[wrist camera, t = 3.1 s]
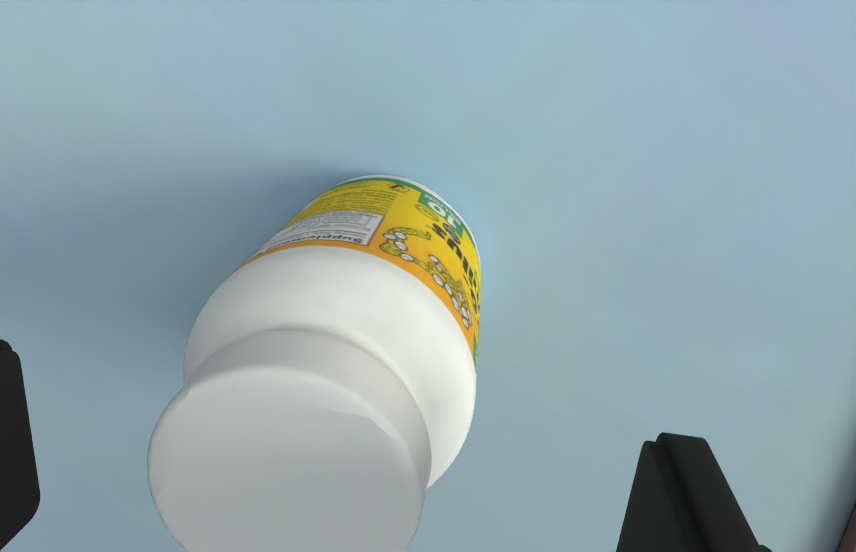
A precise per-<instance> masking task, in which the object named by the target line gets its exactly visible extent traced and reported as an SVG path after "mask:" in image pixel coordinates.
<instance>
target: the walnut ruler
mask: <svg viewBox="0 0 856 552" xmlns="http://www.w3.org/2000/svg"><path fill="white" fill-rule="evenodd" d="M838 552H856V507H855V509H854V512H853V514H852V517H851V519H850V522H849V524H848V527H847V529H846V532H845V534H844V537H843V539H842V542H841V544H840V547H839V549H838Z"/></svg>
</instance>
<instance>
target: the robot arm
mask: <svg viewBox="0 0 856 552" xmlns="http://www.w3.org/2000/svg"><path fill="white" fill-rule="evenodd" d="M39 502H40V489H39V482H38V476H37V469H36V462H35V456H34V449H33V442H32V435H31V429H30V422H29V415H28V409H27V402H26V395H25V389H24V382H23V375H22V369H21V362H20V358H19V356H18V355H17V353H16V352H14V351H12V348H11V346H10V345H9V344H8V342H6V341H4V340H2V339H0V550H1V549H2V548H3V547H4V546H5V545H6V544H7V543H8V542H9V541H10V540H11V539H12V538H13V537H14V536H15V535H16V534H17V533H18V532H19V531H20V530H21V529H22V528H23V527H24V526H25V525H26V524H27V523H28V522H29V521H30V520H31V519H32V518H33V516H34V515H35V513H36V511H37V509H38V506H39ZM616 552H772V551H771V550H770V549H769V548H767V547H766V546H764V545H759V544H758V542H757V540H756V538H755V536H754V534H753V532H752V530H751V528H750V526H749V524H748V522H747V520H746V518H745V516H744V514H743V512H742V510H741V508H740V507H739V505H738V503H737V501H736V499H735V497H734V495H733V493H732V491H731V489H730V487H729V485H728V483H727V481H726V479H725V477H724V475H723V473H722V471H721V469H720V467H719V465H718V463H717V461H716V459H715V457H714V455H713V453H712V451H711V449H710V447H709V445H708V443H707V442H706V440H705V439H703V438H699V437H692V436H685V435H678V434H671V433H664V432H662V433H661V434H659V436H658V438H657V440H656V442H653V441H645V442H644V444H643V446H642V449H641V453H640V457H639V461H638V465H637V469H636V473H635V477H634V481H633V485H632V489H631V493H630V497H629V501H628V505H627V510H626V514H625V518H624V522H623V526H622V530H621V534H620V538H619V542H618V546H617V550H616Z"/></svg>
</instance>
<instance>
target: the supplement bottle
mask: <svg viewBox="0 0 856 552" xmlns="http://www.w3.org/2000/svg"><path fill="white" fill-rule="evenodd" d="M480 289H481V265H480V259H479V253H478V249H477V246H476V243H475V240H474V237H473V235H472V233H471V231H470V229H469V228H468V226H467V224H466V223H465V221H464V220H463V219H462V217H461V216H460V215H459V214H458V213H457V212H456V211H455V210H454V209H453V208H452V207H451V206H450V205H449V204H448V203H447V202H446V201H445V200H443V199H442V198H441V197H440V196H439V195H438V194H436V193H435V192H433V191H432V190H430V189H429V188H427V187H425V186H424V185H422V184H419V183H417V182H415V181H413V180H410V179H407V178H403V177H398V176H392V175H367V176H361V177H356V178H352V179H349V180H346V181H343V182H341V183H339V184H337V185H335V186H333V187H331V188H329V189H327V190H326V191H324V192H323V193H322V194H320V195H319V196H318V197H316V198H315V199H313V200H312V201H311V202H310V203H309V204H308V205H307V206H305V207H304V208H303V209H302V210H301V211H300V212H299V213H298V214H297V215H296V216H295V217H294V218H293V219H292V220H291V221H290V222H289V223H287V224H286V225H285V226H284V227H283V228H282V229H281V230H280V231H279V232H277V233H276V234H275V235H274V236H273V237H272V238H271V239H270V240H269V241H267V242H266V243H265V244H264V245H263V246H262V247H261V248H260V249H258V250H257V251H256V252H255V253H254V254H253V255H252V256H251V257H250V258H249V259H247V260H246V261H245V262H244V263H243V264H242V265H241V266H240V267H239V268H238V269H236V270H235V271H234V272H233V273H232V274H231V275H230V276H229V277H228V278H227V279H226V280H225V281H224V282H223V283H222V284H221V285H220V286H219V287H218V288H217V289H216V290H215V292H214V293H213V294H212V295H211V297H210V298H209V299H208V301H207V302H206V304H205V305H204V306H203V308H202V310H201V311H200V313H199V315H198V317H197V318H196V320H195V323H194V325H193V328H192V330H191V333H190V336H189V339H188V342H187V347H186V352H185V359H184V386H183V387H182V388H181V390H180V391H179V392H178V393H177V394H176V396H175V397H174V398H173V399H172V400H171V402H170V403H169V404H168V405H167V407H166V408H165V409H164V411H163V412H162V414H161V416H160V418H159V420H158V422H157V424H156V426H155V428H154V430H153V433H152V435H151V439H150V443H149V448H148V456H147V472H148V482H149V487H150V491H151V496H152V498H153V501H154V504H155V506H156V508H157V511H158V513H159V515H160V517H161V519H162V521H163V522H164V524H165V526H166V527H167V528H168V530H169V531H170V532H171V534H172V535H173V537H174V538H175V539H176V540H177V542H178V543H179V544H180V545H181V546H182V547H183V548H184V549H185V550H186V551H187V552H405V551H406V550H407V548H408V547H409V545H410V543H411V541H412V539H413V537H414V535H415V533H416V531H417V527H418V524H419V520H420V517H421V512H422V508H423V503H424V498H425V493H426V489H427V488H428V487H429V486H431V485H432V484H433V483H434V482H435V481H436V480H437V479H438V478H439V477H440V476H441V475H442V474H443V473H444V472H445V471H446V470H447V468H448V467H449V466H450V464H451V463H452V462H453V461H454V459H455V458H456V456H457V454H458V453H459V451H460V449H461V447H462V445H463V443H464V441H465V439H466V436H467V433H468V431H469V428H470V424H471V420H472V416H473V411H474V404H475V396H476V379H477V360H478V341H479V332H478V329H479V310H480Z"/></svg>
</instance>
